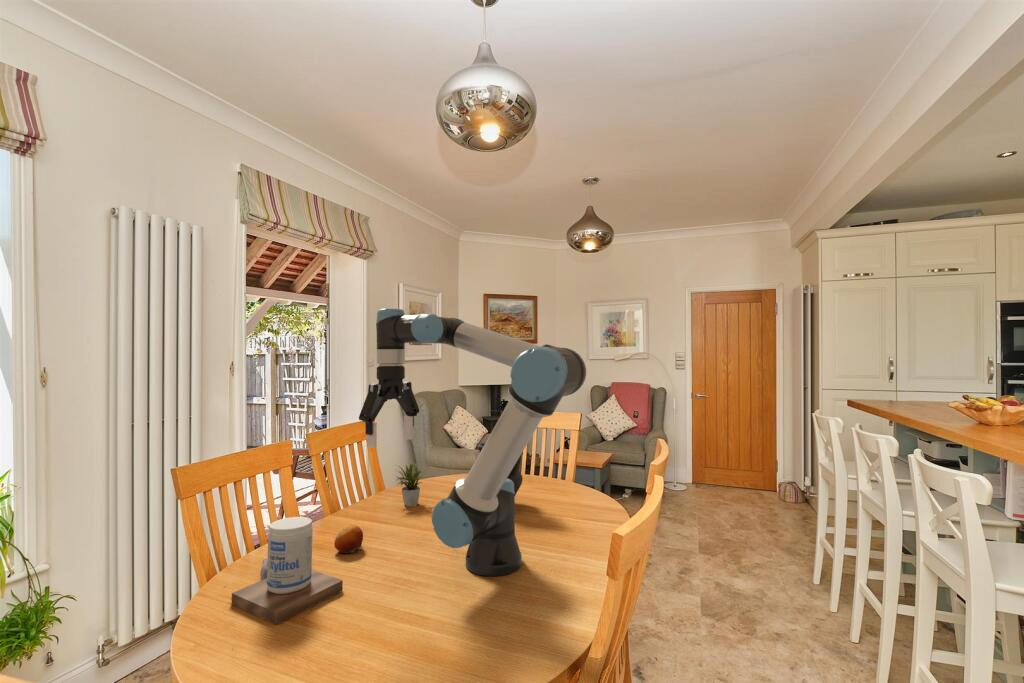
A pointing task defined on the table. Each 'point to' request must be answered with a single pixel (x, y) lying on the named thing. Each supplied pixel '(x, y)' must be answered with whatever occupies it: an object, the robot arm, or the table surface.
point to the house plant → (410, 485)
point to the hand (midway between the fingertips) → (390, 443)
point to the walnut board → (285, 598)
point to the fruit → (349, 539)
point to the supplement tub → (289, 555)
